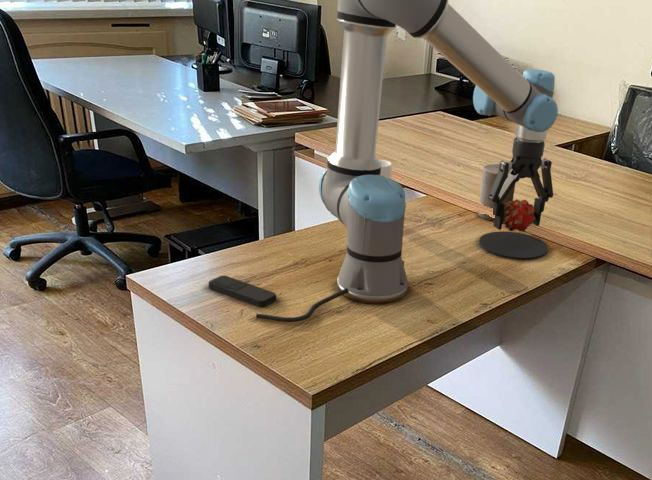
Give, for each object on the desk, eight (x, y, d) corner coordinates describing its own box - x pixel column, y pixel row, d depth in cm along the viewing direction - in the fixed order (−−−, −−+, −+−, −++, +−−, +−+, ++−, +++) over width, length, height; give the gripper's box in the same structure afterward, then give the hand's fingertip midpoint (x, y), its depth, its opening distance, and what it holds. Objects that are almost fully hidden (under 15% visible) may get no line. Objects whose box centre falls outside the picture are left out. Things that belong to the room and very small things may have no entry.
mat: (501, 263, 171) (501, 260, 171) (466, 236, 185) (466, 234, 184) (561, 256, 179) (561, 253, 178) (523, 231, 192) (524, 229, 192)
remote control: (278, 301, 144) (222, 279, 149) (278, 294, 143) (222, 272, 148) (262, 310, 140) (206, 287, 145) (262, 302, 139) (205, 279, 144)
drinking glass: (360, 213, 193) (362, 159, 185) (382, 212, 195) (385, 158, 188) (369, 222, 187) (372, 167, 180) (392, 220, 190) (396, 165, 183)
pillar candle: (517, 218, 201) (525, 166, 194) (494, 223, 195) (501, 170, 188) (493, 207, 207) (500, 157, 200) (470, 213, 201) (476, 161, 194)
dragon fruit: (496, 239, 176) (523, 235, 185) (523, 228, 170) (549, 225, 179) (487, 207, 176) (514, 205, 185) (513, 194, 170) (540, 193, 179)
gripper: (560, 133, 176) (545, 217, 187) (480, 136, 166) (470, 224, 177) (577, 141, 170) (561, 227, 181) (496, 144, 160) (484, 235, 171)
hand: (516, 225), depth 179 cm, fingers closed on dragon fruit, 11 cm apart
